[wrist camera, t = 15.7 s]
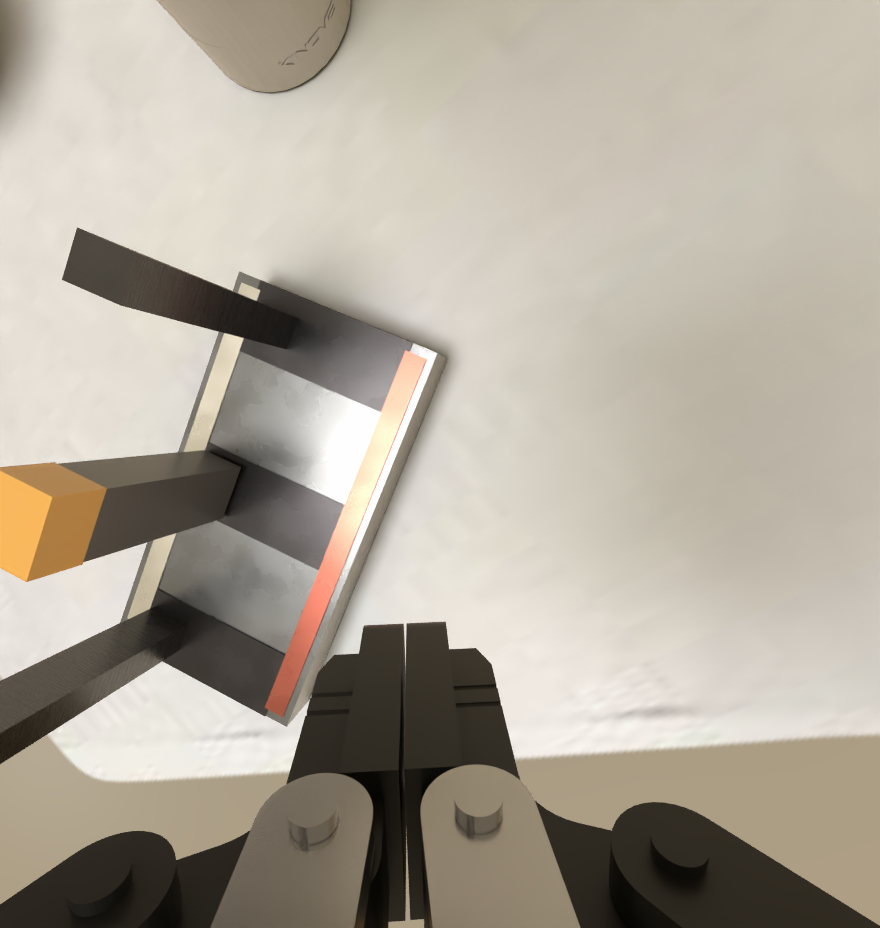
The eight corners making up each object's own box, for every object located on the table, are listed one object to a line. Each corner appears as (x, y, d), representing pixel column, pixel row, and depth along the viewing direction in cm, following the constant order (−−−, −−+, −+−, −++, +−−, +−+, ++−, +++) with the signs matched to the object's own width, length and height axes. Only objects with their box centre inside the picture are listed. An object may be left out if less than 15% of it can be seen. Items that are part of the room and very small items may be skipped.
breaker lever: (185, 501, 32) (-30, 551, 20) (204, 448, 31) (-6, 467, 19) (223, 519, 31) (26, 582, 19) (242, 466, 31) (52, 497, 19)
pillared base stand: (150, 617, 37) (-117, 752, 22) (266, 284, 33) (42, 177, 18) (308, 700, 35) (134, 908, 20) (447, 359, 32) (361, 306, 17)
